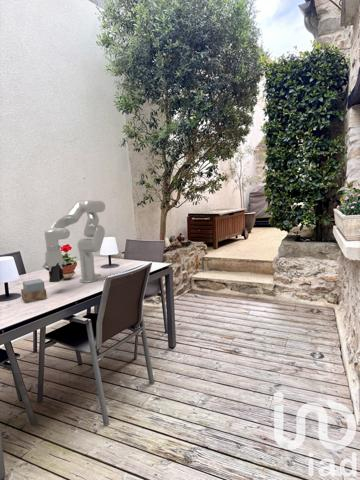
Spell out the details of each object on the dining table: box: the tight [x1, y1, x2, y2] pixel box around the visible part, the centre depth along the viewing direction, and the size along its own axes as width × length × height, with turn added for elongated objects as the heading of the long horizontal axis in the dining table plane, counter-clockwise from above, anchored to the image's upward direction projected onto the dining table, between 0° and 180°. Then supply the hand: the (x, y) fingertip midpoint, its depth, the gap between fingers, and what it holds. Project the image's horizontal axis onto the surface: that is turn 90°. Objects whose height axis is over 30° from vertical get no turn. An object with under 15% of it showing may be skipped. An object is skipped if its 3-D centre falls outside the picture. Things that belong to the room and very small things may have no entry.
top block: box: [22, 278, 46, 293], centre depth 184 cm, size 10×10×5 cm
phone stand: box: [48, 263, 65, 283], centre depth 195 cm, size 9×6×12 cm, turn 178°
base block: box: [20, 288, 48, 304], centre depth 185 cm, size 12×12×6 cm
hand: (56, 275), depth 196 cm, fingers closed on phone stand, 5 cm apart
